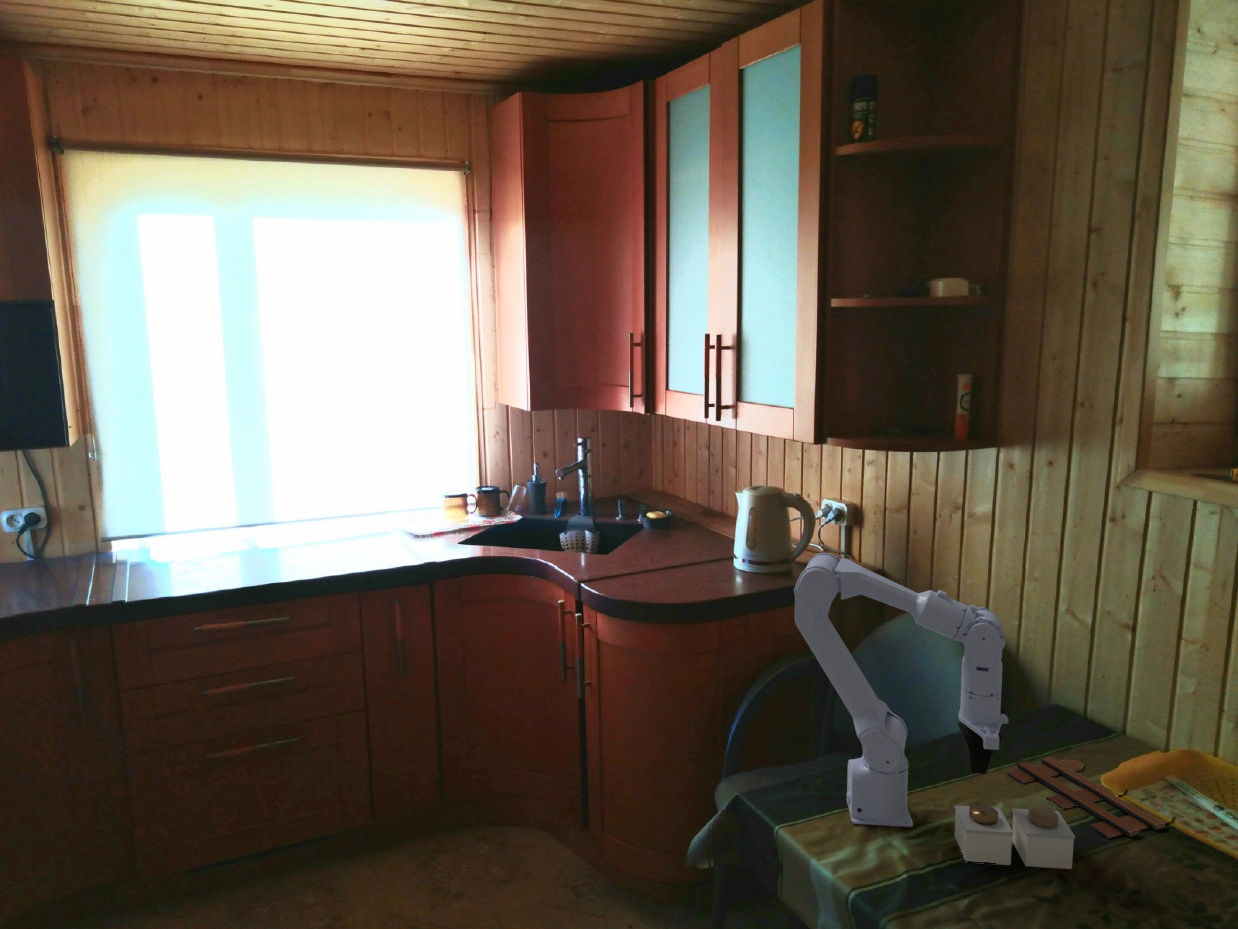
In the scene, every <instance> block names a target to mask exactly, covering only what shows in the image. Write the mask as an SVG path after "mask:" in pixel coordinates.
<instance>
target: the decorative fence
mask: <svg viewBox="0 0 1238 929" xmlns="http://www.w3.org/2000/svg"><path fill="white" fill-rule="evenodd" d="M1040 763H1041V764H1040V765H1039V764H1038V765H1035V766H1034V765H1032V764H1030V763H1029V762H1027V761H1024V762H1020V763H1017V765H1016V767H1017V768H1018V769H1016V770H1013V771H1009V772H1007V773H1006V774H1007V776H1008V777H1010V778H1011V777H1012V778H1011V779H1013V780H1014V781H1016V780H1017V781H1018V782H1017V781H1016V782H1017V783H1019V784H1020V783H1021V784H1020V785H1025V784H1029V782H1030V783H1034V782H1040V783H1041V784H1043V785H1045V786H1047V787H1048V788H1049V789H1051V790H1053V791H1054V792H1056V793H1057V794H1054V795H1050V796H1046V797H1045V800H1046V799H1047V800H1049V801H1052V802H1053V803H1054V804H1056V805H1057V806H1059V807H1060V808H1067V807H1070V806H1075V805H1079V806H1078V807H1080V808H1082V809H1083V808H1084V809H1083V810H1085V811H1086V810H1087V811H1086V812H1088V813H1089V814H1091V815H1093V816H1094V815H1095V817H1096V818H1097V819H1099V818H1100V819H1099V820H1101V821H1100V822H1097V823H1091V824H1089V826H1090V827H1091V828H1093V829H1094V830H1095V831H1096V832H1095V831H1094V830H1093V831H1094V832H1095V833H1097V832H1098V833H1099V835H1100V836H1101V835H1102V837H1103V838H1104V839H1106V838H1107V839H1106V840H1111V839H1114V838H1119V837H1123V836H1127V837H1129V838H1130V837H1135V836H1138V835H1139V834H1140V832H1141V831H1146V830H1148V829H1152V830H1154V831H1157V830H1160V829H1164V828H1165V827H1166V825H1168V824H1167V822H1165V821H1163V820H1161V819H1158V818H1156V817H1155V816H1153V815H1151V814H1150V813H1147V812H1146V811H1147V810H1142V809H1140V808H1139V807H1137V806H1135V805H1134V804H1132V803H1130V802H1129V801H1127V800H1125V801H1122V800H1120V799H1118V798H1117V797H1116V796H1115V794H1113V793H1112V792H1111V791H1109V789H1107V788H1106V787H1104V786H1103V785H1102V784H1103V783H1101V784H1098V783H1097V782H1096V783H1095V782H1093V781H1092V780H1090V779H1089V778H1087V777H1085V776H1083V775H1081V774H1080V773H1078V772H1082V770H1083V769H1084V766H1085V764H1084V763H1083V762H1081V761H1080V760H1076V759H1075V760H1074V759H1062V760H1058V761H1057V760H1056V759H1054V758H1053V757H1051V756H1046V757H1043V758H1041V759H1040ZM1061 776H1063V777H1065V778H1067V779H1068V780H1070V781H1072V782H1073V783H1075V784H1077V785H1078V786H1080V787H1082V788H1080V789H1075V790H1074V789H1072V788H1070V787H1068V786H1066V785H1065V784H1063V783H1062V782H1060V781H1058V780H1056V779H1055V777H1061ZM1033 781H1034V782H1033ZM1101 799H1103V800H1102V801H1105V802H1107V803H1108V804H1109V805H1111V806H1114V807H1115V808H1117V809H1119V810H1120V809H1121V811H1122V812H1123V813H1125V812H1126V813H1125V814H1127V815H1124V816H1120V817H1118V816H1115V815H1114V813H1113V814H1112V813H1111V812H1109V811H1108V810H1106V809H1104V808H1103V807H1101V806H1099V805H1098V804H1097V803H1096V802H1094V803H1093V802H1091V801H1096V800H1101ZM1047 800H1046V801H1047ZM1126 801H1127V802H1126ZM1129 803H1130V804H1129ZM1089 826H1088V827H1089ZM1091 828H1090V829H1091ZM1098 833H1097V834H1098ZM1110 838H1111V839H1110Z"/></svg>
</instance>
